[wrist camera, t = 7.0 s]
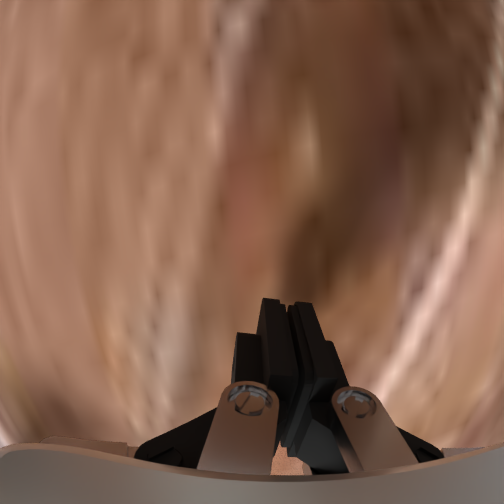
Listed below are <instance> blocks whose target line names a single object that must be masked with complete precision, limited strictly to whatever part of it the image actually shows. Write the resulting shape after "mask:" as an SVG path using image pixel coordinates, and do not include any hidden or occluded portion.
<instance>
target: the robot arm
mask: <svg viewBox="0 0 504 504" xmlns="http://www.w3.org/2000/svg"><path fill="white" fill-rule="evenodd" d="M279 442H280V443H281V447H287V456H288V457H297V458H299V459H300V460H302V461H303V465H302V468H303V473H304V475H270V474H271V467H272V459H273V457H274V456H275V453H276V450H277V447H278V444H279ZM0 504H504V442H503V443H500V444H496V445H492V446H488V447H481V448H442V449H441V450H439V449H438V448H436V447H435V446H433V445H432V444H430V443H428V442H426V441H424V440H422V439H420V438H418V437H416V436H414V435H412V434H410V433H408V432H406V431H404V430H402V429H401V428H399V427H397V426H396V425H395V424H394V422H393V421H392V419H391V418H390V416H389V414H388V413H387V411H386V410H385V408H384V407H383V405H382V403H381V402H380V400H379V399H378V398H377V397H376V396H375V395H374V394H373V393H371V392H370V391H368V390H365V389H363V388H359V387H351V386H349V384H348V381H347V378H346V376H345V373H344V370H343V368H342V365H341V362H340V360H339V357H338V354H337V352H336V349H335V347H334V344H333V342H332V341H326V340H325V338H324V335H323V333H322V330H321V327H320V324H319V321H318V319H317V316H316V313H315V310H314V308H313V305H312V303H306V302H295V303H294V305H289V306H288V310H287V312H286V307H285V304H280V301H279V300H278V299H269V298H263V299H262V304H261V310H260V315H259V321H258V327H257V332H256V334H248V333H240V332H237V336H236V342H235V349H234V357H233V365H232V377H231V384H230V385H229V386H228V387H226V388H225V389H224V391H223V393H222V395H221V398H220V401H219V404H218V407H217V408H215V409H213V410H211V411H209V412H207V413H205V414H203V415H201V416H199V417H197V418H195V419H193V420H191V421H189V422H187V423H185V424H183V425H181V426H179V427H177V428H175V429H173V430H171V431H168V432H166V433H164V434H162V435H160V436H158V437H155V438H153V439H151V440H149V441H147V442H145V443H144V444H142V445H141V446H140V447H129V446H128V445H127V443H123V442H108V441H96V440H87V439H78V438H70V437H63V436H51V437H48V438H45V439H43V440H42V441H41V442H39V443H21V444H13V445H9V446H5V447H2V448H0Z"/></svg>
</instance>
